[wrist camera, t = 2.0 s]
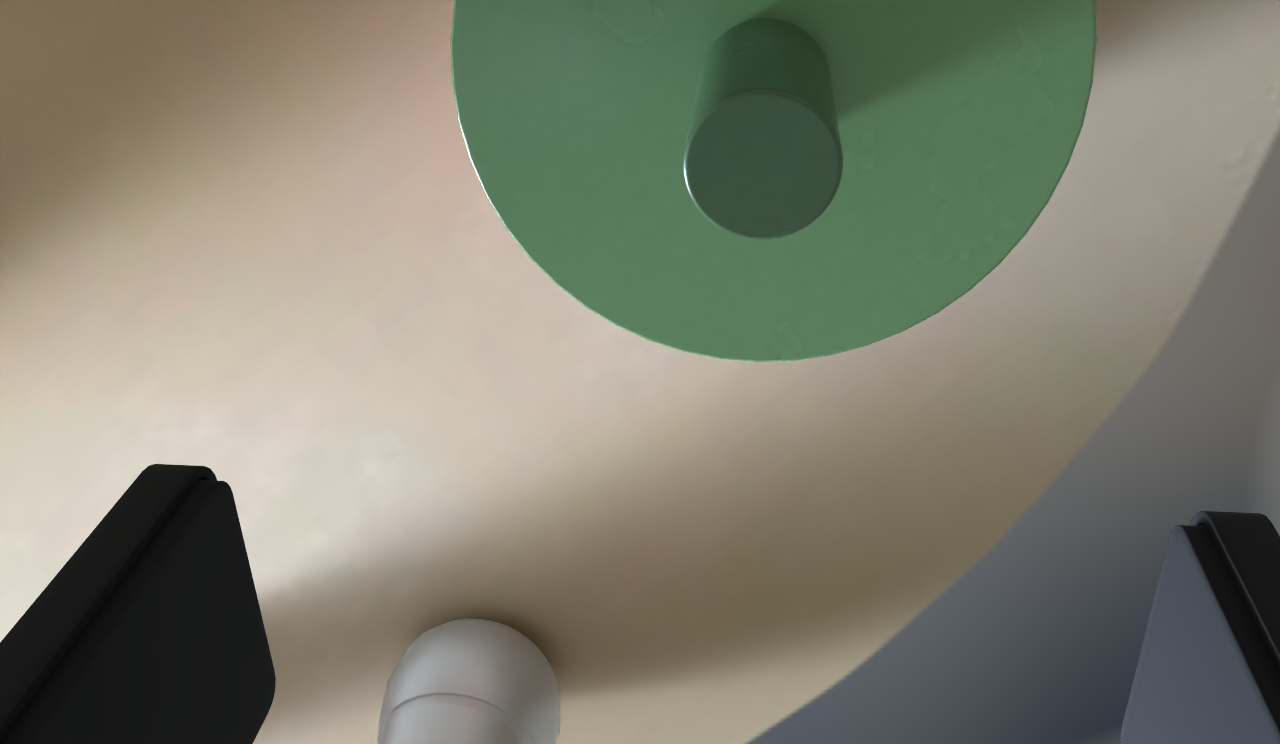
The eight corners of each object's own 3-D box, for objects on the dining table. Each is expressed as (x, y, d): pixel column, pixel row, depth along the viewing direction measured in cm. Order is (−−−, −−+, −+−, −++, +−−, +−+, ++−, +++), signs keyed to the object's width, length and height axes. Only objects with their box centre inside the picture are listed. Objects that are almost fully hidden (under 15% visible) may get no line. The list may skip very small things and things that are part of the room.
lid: (491, 332, 28) (427, 475, 23) (430, -271, 22) (325, -261, 17) (1036, 343, 27) (1099, 497, 22) (1135, -292, 21) (1256, -288, 16)
